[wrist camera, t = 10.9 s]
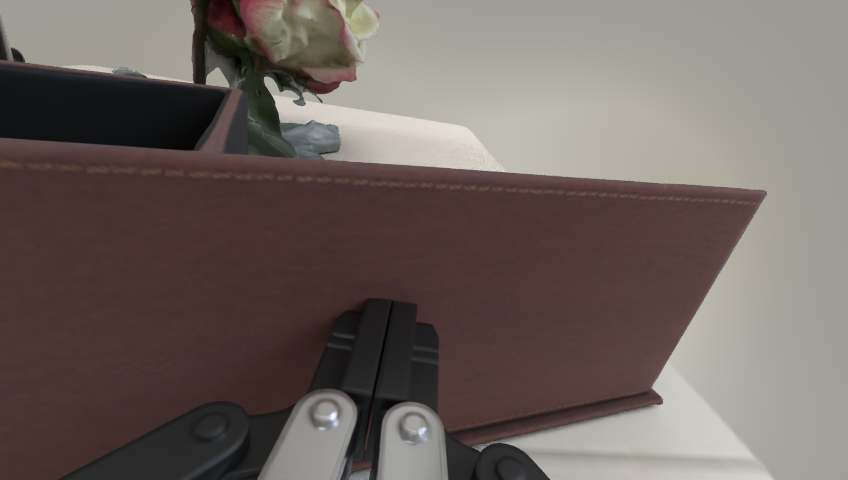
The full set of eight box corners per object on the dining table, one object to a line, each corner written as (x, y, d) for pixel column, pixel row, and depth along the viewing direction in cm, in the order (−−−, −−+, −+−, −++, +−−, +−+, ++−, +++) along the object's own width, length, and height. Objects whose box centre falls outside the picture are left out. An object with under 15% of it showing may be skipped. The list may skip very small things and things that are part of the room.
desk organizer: (-3, 322, 17) (-114, 39, 12) (540, 288, 28) (597, 130, 23) (-271, 625, 9) (-991, 94, 4) (661, 408, 20) (793, 197, 15)
